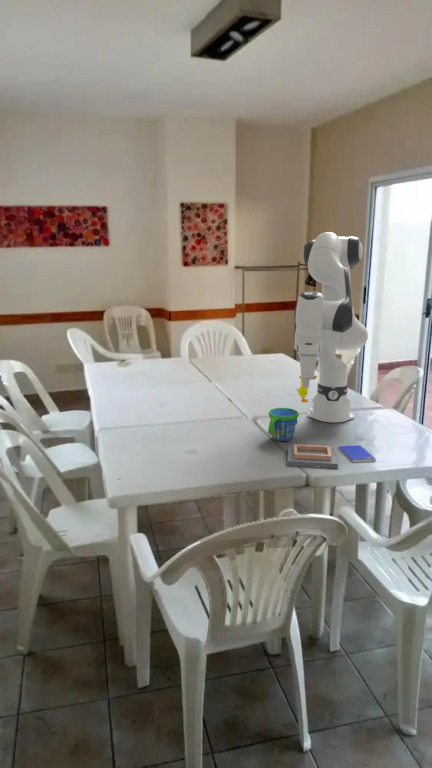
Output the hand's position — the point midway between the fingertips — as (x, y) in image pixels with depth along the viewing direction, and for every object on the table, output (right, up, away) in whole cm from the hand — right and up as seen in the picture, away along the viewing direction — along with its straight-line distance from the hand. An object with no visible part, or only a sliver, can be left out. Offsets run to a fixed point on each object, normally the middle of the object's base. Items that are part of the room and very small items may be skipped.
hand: (306, 386), depth 182 cm
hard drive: (+19, -24, +10) cm, 32 cm away
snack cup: (-5, -19, +24) cm, 31 cm away
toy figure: (0, -5, +1) cm, 5 cm away
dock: (+3, -24, +6) cm, 25 cm away
